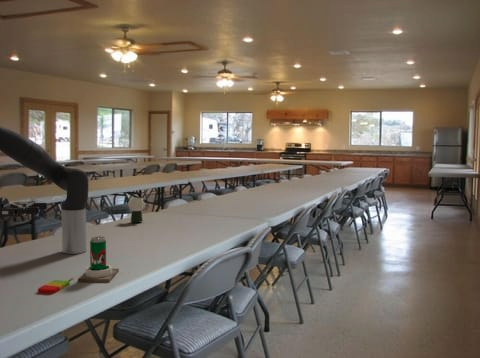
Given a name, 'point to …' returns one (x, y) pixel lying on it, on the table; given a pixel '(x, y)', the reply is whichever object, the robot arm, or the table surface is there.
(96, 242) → the soda can
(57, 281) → the popsicle
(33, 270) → the table surface
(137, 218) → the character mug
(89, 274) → the socket plate
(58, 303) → the table surface
